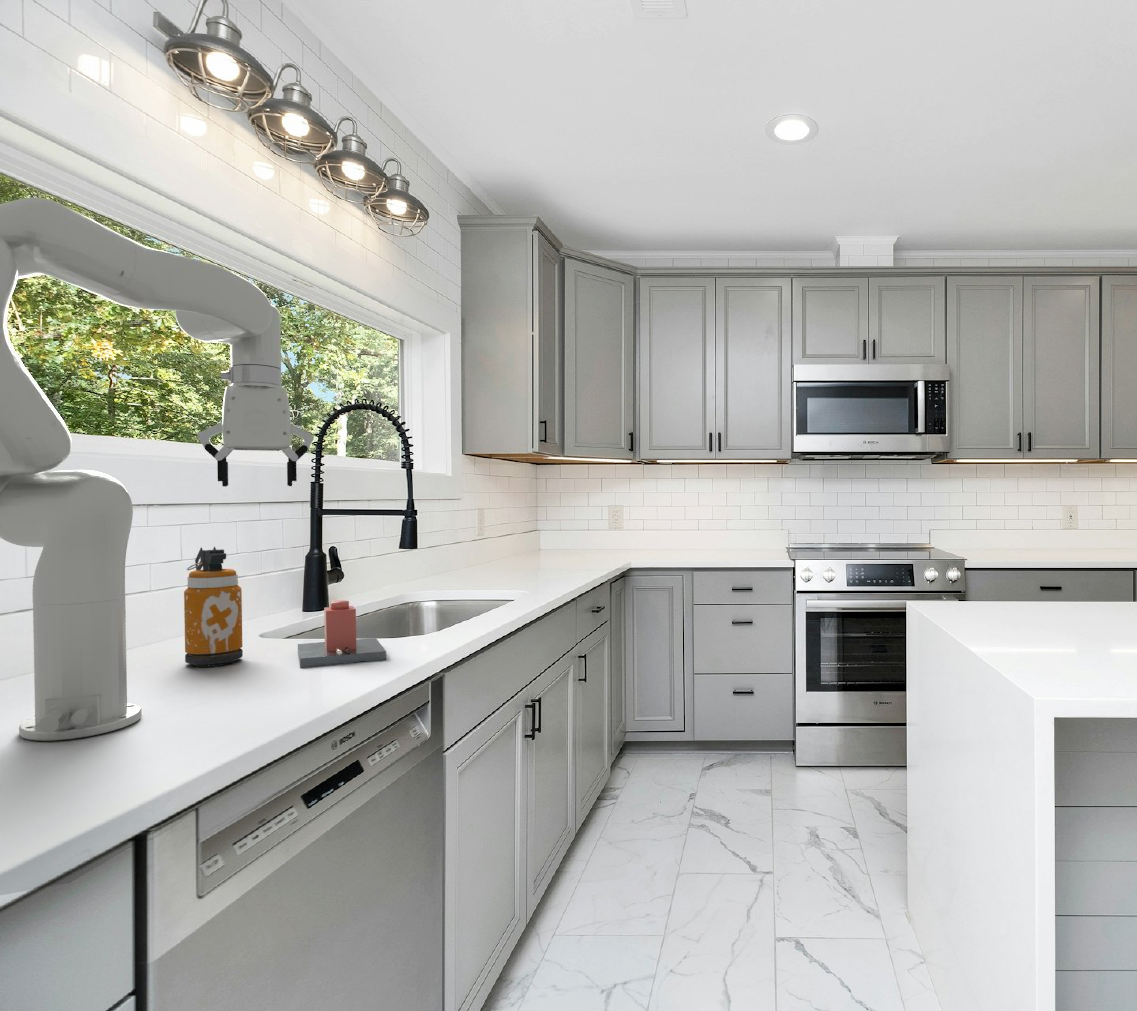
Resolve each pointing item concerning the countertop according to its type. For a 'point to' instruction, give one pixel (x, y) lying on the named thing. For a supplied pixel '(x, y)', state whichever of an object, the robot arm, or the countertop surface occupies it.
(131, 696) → the countertop surface
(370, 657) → the grey plate with peg
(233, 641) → the canister
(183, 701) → the countertop surface
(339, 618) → the pink cube with dome
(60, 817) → the countertop surface
